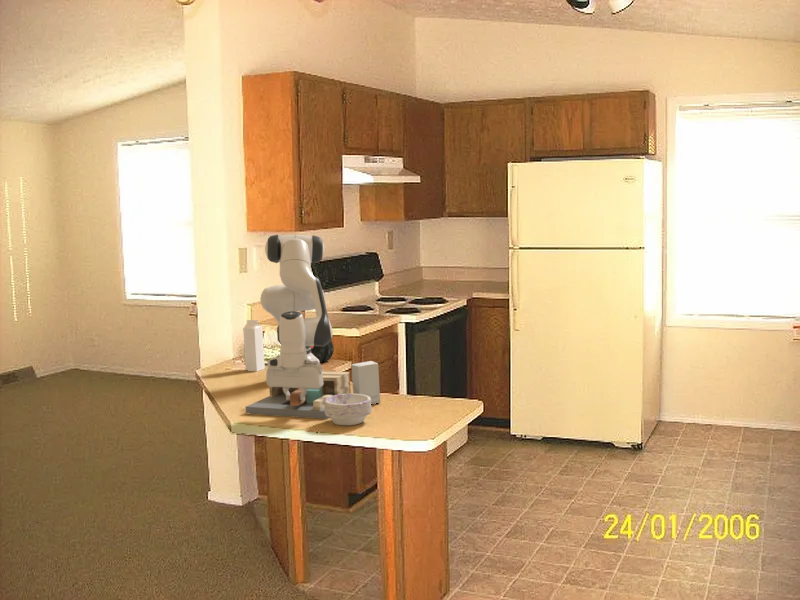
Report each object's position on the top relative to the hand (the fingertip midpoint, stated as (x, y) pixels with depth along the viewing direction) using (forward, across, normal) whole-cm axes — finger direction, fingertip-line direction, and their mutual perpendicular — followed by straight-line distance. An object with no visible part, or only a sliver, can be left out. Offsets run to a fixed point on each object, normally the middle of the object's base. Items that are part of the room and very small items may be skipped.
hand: (295, 400), depth 291 cm
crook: (+2, -1, -7) cm, 7 cm away
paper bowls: (+6, -21, +3) cm, 22 cm away
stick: (+3, -8, -5) cm, 10 cm away
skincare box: (+6, -17, -21) cm, 27 cm away
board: (+5, +4, -12) cm, 13 cm away
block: (+3, -2, -10) cm, 11 cm away
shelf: (+3, +5, -19) cm, 20 cm away
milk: (+6, +57, -69) cm, 90 cm away
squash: (+6, +38, -92) cm, 100 cm away
